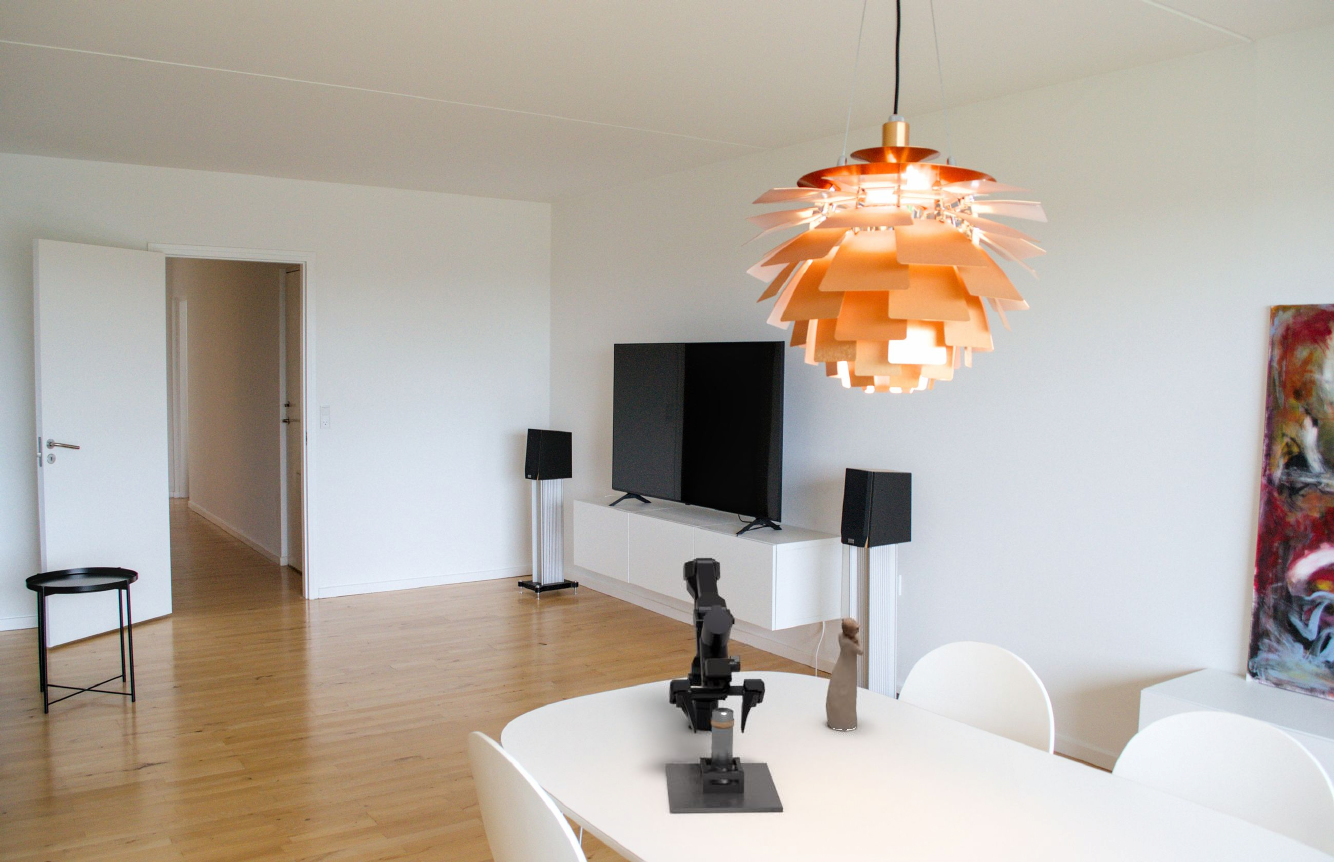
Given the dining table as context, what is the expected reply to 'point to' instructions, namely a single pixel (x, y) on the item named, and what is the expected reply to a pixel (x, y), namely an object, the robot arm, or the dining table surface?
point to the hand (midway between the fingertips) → (719, 732)
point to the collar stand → (721, 788)
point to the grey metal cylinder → (722, 741)
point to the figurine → (844, 679)
